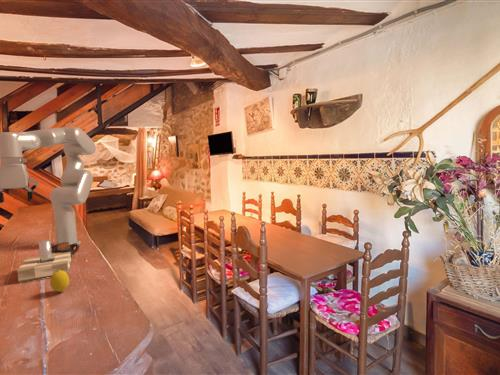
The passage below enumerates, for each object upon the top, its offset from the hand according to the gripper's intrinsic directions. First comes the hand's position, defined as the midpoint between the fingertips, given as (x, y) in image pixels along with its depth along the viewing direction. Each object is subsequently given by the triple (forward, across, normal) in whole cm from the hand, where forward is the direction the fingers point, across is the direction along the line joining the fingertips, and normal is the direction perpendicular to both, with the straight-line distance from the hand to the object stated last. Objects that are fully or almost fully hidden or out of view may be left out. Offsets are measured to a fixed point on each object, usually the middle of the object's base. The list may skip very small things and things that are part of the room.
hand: (16, 201), depth 129 cm
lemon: (+28, -18, +41) cm, 53 cm away
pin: (+27, -11, +16) cm, 33 cm away
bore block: (+28, -11, +16) cm, 34 cm away
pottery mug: (+29, -16, -3) cm, 33 cm away
